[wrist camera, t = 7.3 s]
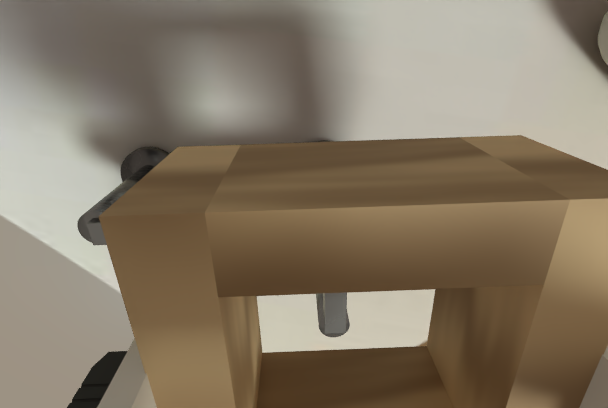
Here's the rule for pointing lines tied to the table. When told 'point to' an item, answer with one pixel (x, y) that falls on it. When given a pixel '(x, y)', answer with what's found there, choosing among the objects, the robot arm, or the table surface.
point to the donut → (604, 38)
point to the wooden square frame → (368, 270)
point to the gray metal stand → (143, 162)
